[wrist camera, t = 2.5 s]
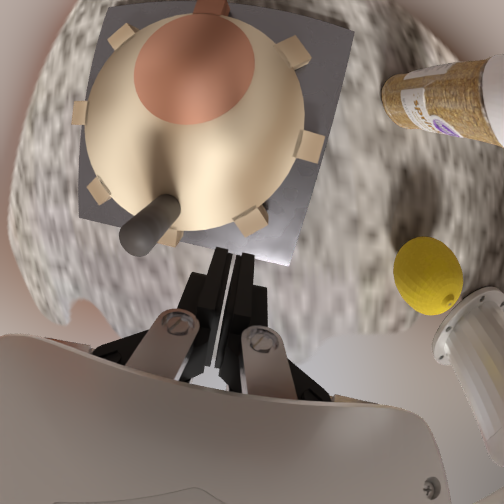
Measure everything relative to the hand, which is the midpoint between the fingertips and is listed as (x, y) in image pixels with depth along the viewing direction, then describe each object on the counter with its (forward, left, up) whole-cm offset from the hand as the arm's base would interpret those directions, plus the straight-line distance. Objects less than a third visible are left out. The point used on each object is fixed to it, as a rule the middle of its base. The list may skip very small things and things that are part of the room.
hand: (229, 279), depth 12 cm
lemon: (-15, 0, -11) cm, 18 cm away
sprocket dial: (+5, -6, -9) cm, 12 cm away
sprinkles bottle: (-10, -12, -11) cm, 19 cm away
